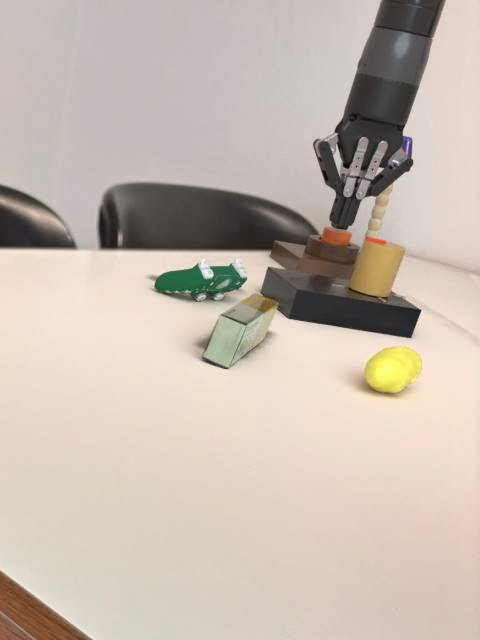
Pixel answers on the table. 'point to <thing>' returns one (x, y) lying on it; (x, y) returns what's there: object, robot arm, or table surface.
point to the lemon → (393, 369)
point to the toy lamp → (385, 196)
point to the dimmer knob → (377, 267)
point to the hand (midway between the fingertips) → (339, 228)
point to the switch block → (317, 257)
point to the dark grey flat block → (338, 303)
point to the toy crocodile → (203, 280)
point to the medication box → (239, 330)
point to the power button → (336, 236)
